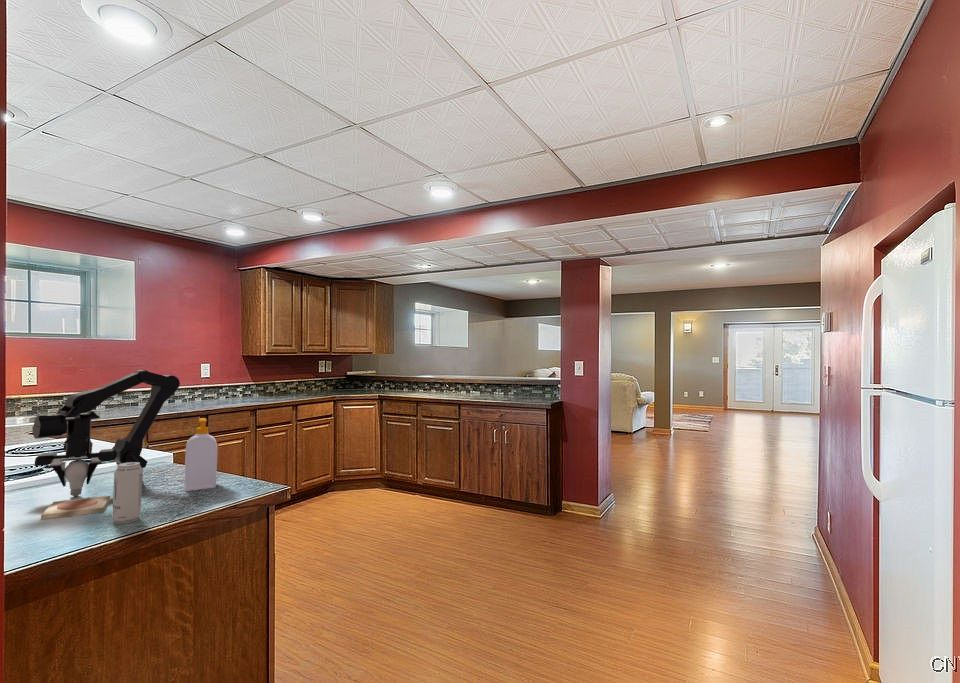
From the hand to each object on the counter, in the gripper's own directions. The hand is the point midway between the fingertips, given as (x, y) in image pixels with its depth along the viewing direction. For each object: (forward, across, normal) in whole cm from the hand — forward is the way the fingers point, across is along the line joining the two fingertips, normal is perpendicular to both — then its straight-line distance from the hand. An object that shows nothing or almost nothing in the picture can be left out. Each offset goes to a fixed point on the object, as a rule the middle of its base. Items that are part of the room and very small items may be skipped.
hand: (76, 485), depth 145 cm
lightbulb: (+4, 0, 0) cm, 4 cm away
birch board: (+4, -3, +15) cm, 16 cm away
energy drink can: (+4, -16, +33) cm, 37 cm away
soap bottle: (+4, -33, +5) cm, 34 cm away
